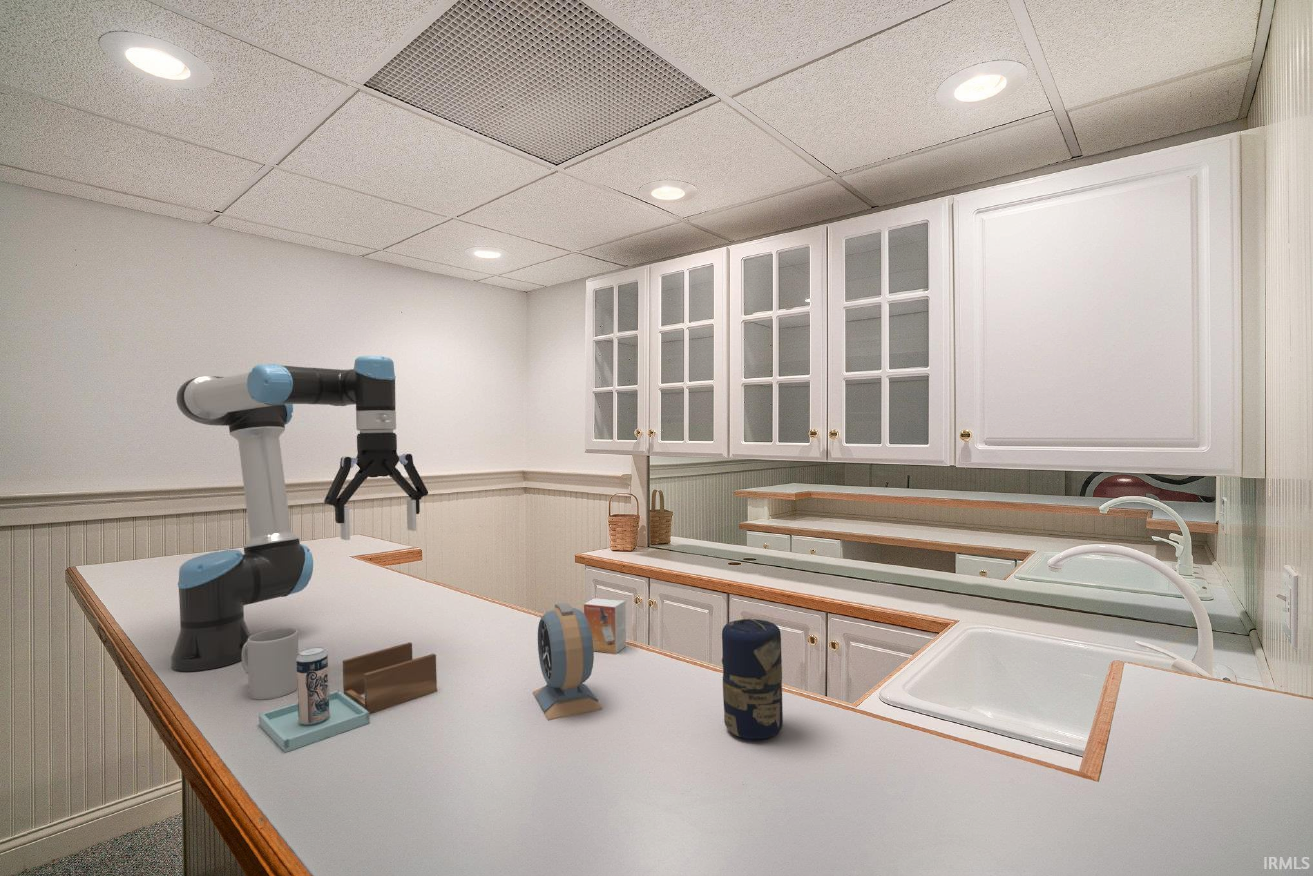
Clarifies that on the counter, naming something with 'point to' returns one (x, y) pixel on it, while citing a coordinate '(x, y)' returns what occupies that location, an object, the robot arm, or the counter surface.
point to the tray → (296, 735)
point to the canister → (752, 678)
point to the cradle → (388, 677)
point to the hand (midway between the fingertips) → (379, 534)
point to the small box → (607, 624)
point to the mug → (271, 663)
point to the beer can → (312, 686)
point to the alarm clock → (565, 663)
